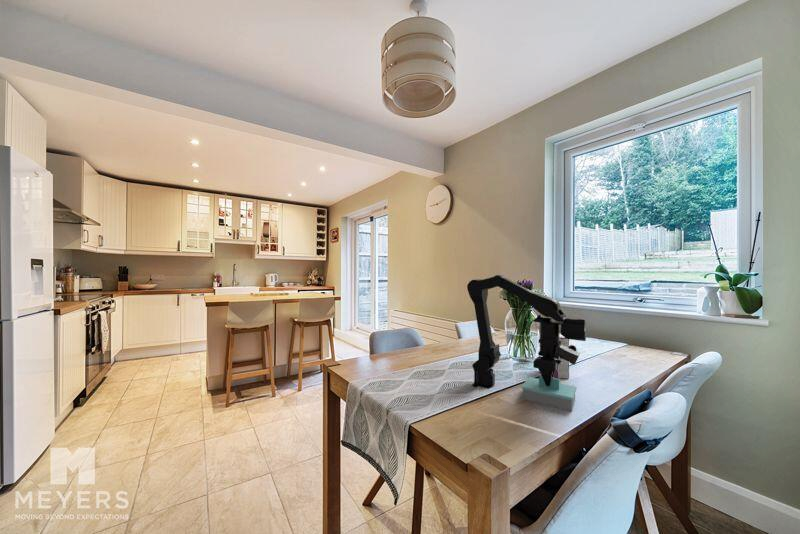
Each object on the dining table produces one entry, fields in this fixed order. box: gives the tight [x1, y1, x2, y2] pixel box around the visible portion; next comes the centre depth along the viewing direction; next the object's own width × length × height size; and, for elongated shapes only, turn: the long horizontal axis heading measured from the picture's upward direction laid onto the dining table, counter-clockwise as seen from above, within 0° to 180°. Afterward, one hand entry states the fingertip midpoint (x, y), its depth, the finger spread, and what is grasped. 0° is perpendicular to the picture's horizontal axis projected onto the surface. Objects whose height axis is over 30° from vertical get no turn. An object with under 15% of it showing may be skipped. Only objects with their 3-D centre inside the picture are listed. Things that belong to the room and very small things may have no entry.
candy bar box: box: [553, 333, 570, 380], centre depth 123 cm, size 11×5×16 cm, turn 179°
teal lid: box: [521, 374, 577, 401], centre depth 98 cm, size 15×11×5 cm
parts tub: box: [522, 389, 576, 412], centre depth 98 cm, size 14×10×4 cm
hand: (549, 384), depth 98 cm, fingers open, 4 cm apart
